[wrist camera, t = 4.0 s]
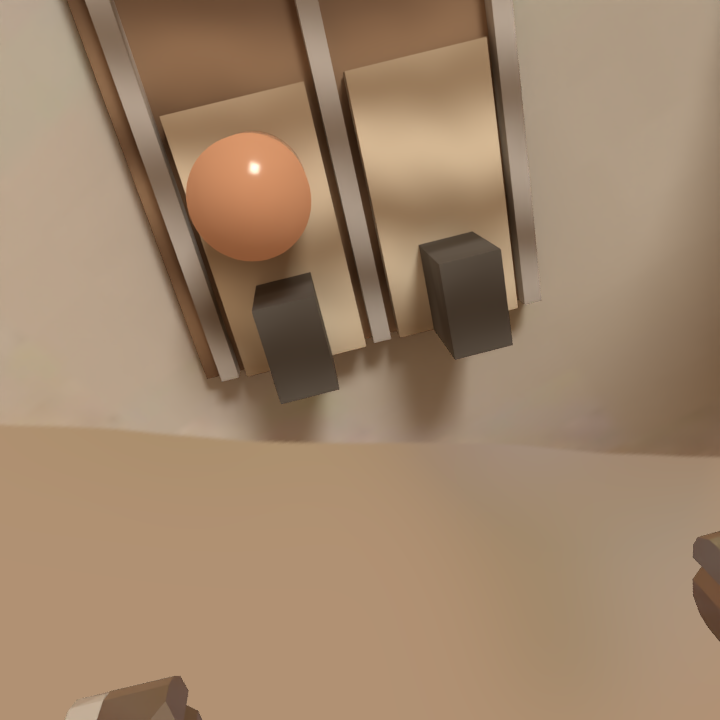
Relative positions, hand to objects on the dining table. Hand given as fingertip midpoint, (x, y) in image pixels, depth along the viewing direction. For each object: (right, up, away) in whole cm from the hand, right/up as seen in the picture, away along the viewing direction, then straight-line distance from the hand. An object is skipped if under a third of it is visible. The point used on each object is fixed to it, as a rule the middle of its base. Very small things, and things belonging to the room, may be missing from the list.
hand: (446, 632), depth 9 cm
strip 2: (+3, +13, +22) cm, 26 cm away
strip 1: (-6, +11, +22) cm, 25 cm away
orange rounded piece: (-6, +13, +20) cm, 25 cm away
